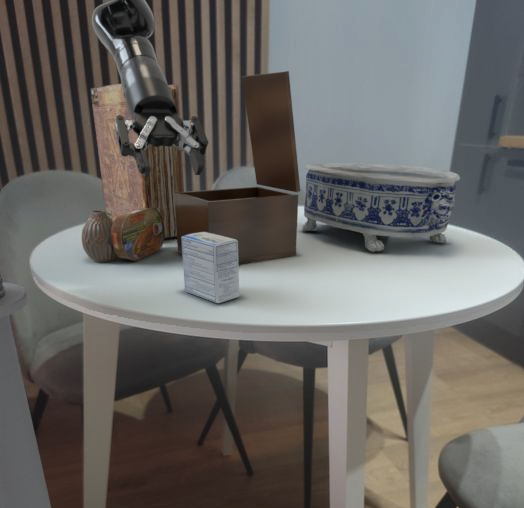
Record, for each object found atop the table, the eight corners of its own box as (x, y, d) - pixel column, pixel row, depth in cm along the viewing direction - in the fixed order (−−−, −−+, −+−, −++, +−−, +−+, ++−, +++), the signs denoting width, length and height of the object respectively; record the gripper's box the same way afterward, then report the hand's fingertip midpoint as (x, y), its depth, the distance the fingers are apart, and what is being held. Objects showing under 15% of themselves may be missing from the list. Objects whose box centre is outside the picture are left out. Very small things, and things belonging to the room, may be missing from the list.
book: (187, 238, 109) (179, 84, 97) (148, 243, 104) (134, 82, 92) (141, 220, 128) (129, 89, 115) (106, 223, 123) (90, 87, 111)
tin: (126, 265, 89) (121, 217, 85) (111, 264, 90) (105, 216, 86) (167, 247, 102) (164, 205, 98) (153, 246, 102) (150, 204, 99)
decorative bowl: (270, 226, 122) (271, 161, 116) (352, 216, 135) (357, 158, 129) (397, 266, 90) (408, 179, 83) (489, 249, 103) (505, 173, 96)
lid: (284, 71, 82) (288, 70, 82) (241, 76, 92) (245, 75, 92) (296, 192, 91) (300, 191, 92) (256, 184, 102) (260, 183, 102)
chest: (210, 269, 87) (207, 202, 82) (177, 252, 98) (173, 192, 93) (296, 255, 97) (298, 194, 92) (258, 241, 107) (258, 186, 102)
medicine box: (240, 298, 73) (239, 239, 70) (216, 305, 70) (214, 244, 67) (206, 286, 78) (204, 230, 75) (183, 292, 76) (180, 235, 72)
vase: (76, 262, 90) (69, 213, 87) (98, 253, 96) (92, 207, 93) (109, 265, 89) (103, 215, 85) (130, 256, 95) (125, 209, 91)
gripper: (105, 72, 77) (132, 157, 73) (192, 77, 83) (221, 154, 79) (102, 111, 83) (126, 190, 79) (183, 112, 89) (210, 186, 85)
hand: (174, 172), depth 79 cm, fingers open, 8 cm apart
